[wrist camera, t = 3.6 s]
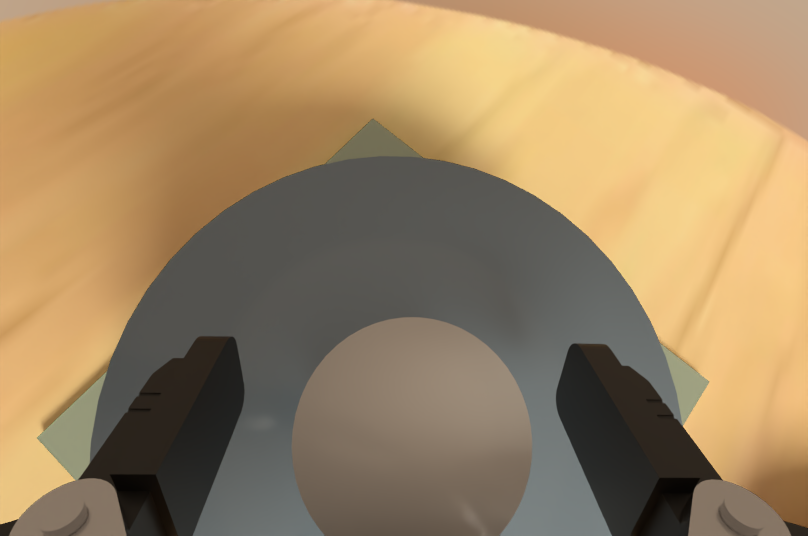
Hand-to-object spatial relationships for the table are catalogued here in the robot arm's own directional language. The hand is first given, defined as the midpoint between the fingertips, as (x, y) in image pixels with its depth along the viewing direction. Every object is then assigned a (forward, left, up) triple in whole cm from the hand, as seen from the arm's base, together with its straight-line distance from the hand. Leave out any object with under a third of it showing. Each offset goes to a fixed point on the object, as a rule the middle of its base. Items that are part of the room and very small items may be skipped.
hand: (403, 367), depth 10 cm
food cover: (+1, -1, -8) cm, 8 cm away
